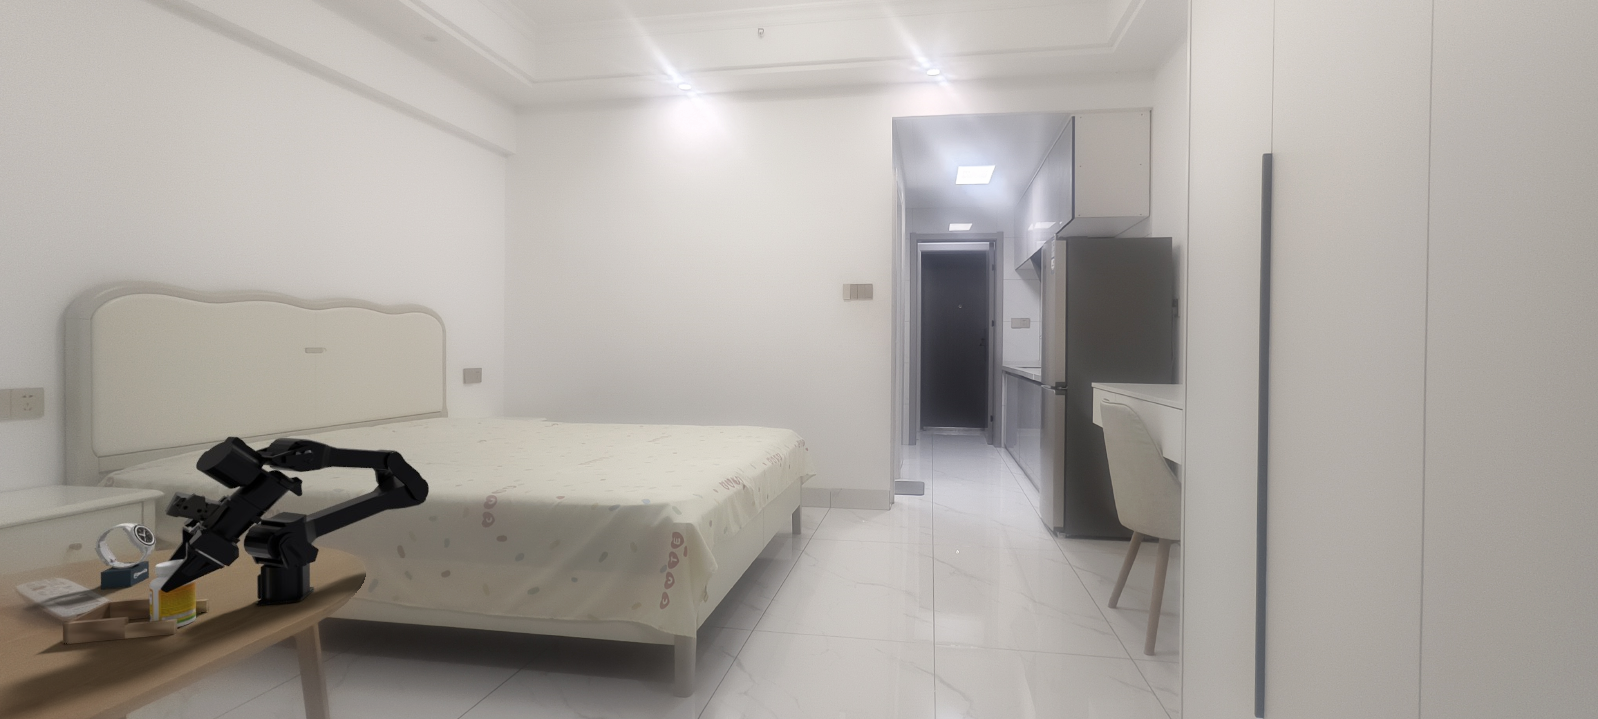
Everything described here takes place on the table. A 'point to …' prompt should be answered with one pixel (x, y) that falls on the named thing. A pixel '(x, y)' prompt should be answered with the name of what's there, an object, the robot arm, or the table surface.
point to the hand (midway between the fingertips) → (162, 583)
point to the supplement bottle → (171, 597)
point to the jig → (120, 622)
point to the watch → (126, 572)
